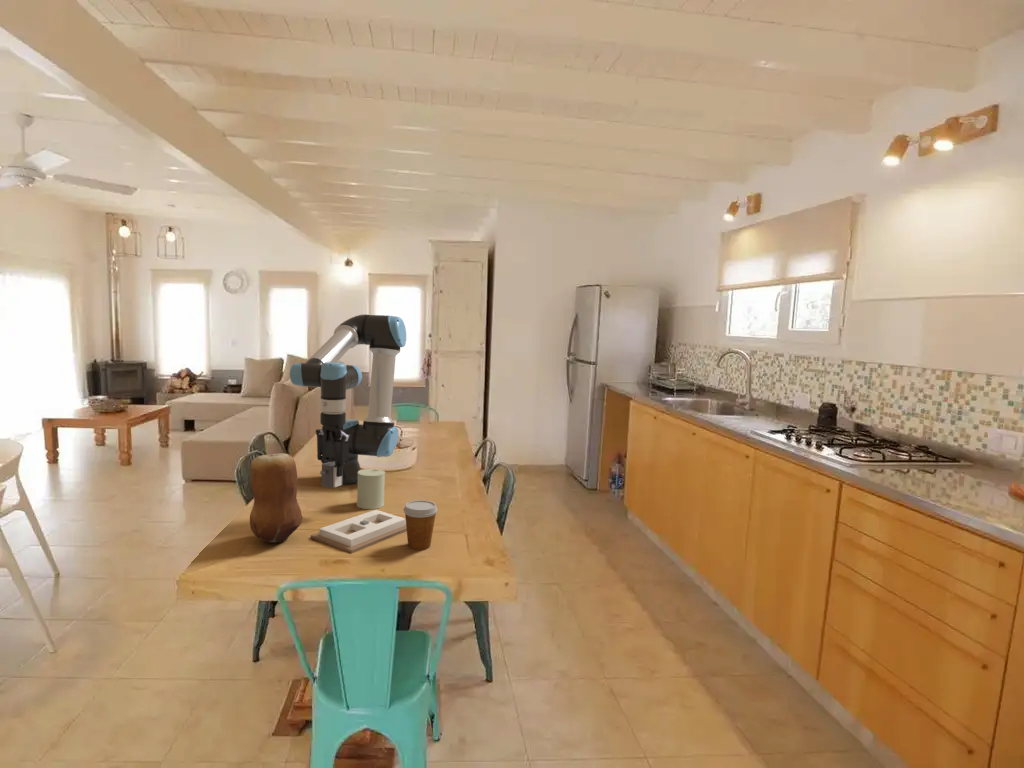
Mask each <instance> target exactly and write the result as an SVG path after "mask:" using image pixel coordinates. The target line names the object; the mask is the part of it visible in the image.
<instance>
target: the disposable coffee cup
mask: <svg viewBox="0 0 1024 768" xmlns="http://www.w3.org/2000/svg"><path fill="white" fill-rule="evenodd" d="M403 512H404V515H405V517H404V518H405V519H406V528H407V531H406V535H407V536H406V537H407V538H406V539H407V547H408V548H409V549H410V550H416V551H422V550H423V551H424V550H427V549H430V547H431V543H432V539H433V532H434V525H435V519H436V514H437V512H438V507H437V505H436V502H434V501H430V500H424V499H423V500H422V499H421V500H420V499H417V500H412V501H407V502H406V503H405V505H404V508H403Z"/></svg>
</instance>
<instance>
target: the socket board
mask: <svg viewBox="0 0 1024 768" xmlns="http://www.w3.org/2000/svg"><path fill="white" fill-rule="evenodd" d="M405 532H407V528H406V517H401V516H398V515H395V514H391V513H388V512H385V511H382V510H379V509H372V510H371V511H368V512H364V513H361V514H359V515H356V516H353V517H350V518H347V519H344V520H341V521H338V522H335V523H332V524H329V525H327V526H323V527H320V528H319V532H316V533H313V534H310V539H312V540H316V541H318V542H321V543H323V544H326V545H329V546H331V547H334V548H337V549H339V550H342V551H345V552H348V553H350V554H353V553H354V554H355V553H356V552H358V551H360V550H363V549H365V548H368V547H370V546H374V545H376V544H378V543H380V542H383V541H385V540H387V539H390V538H393V537H395V536H397V535H400V534H402V533H405Z"/></svg>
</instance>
